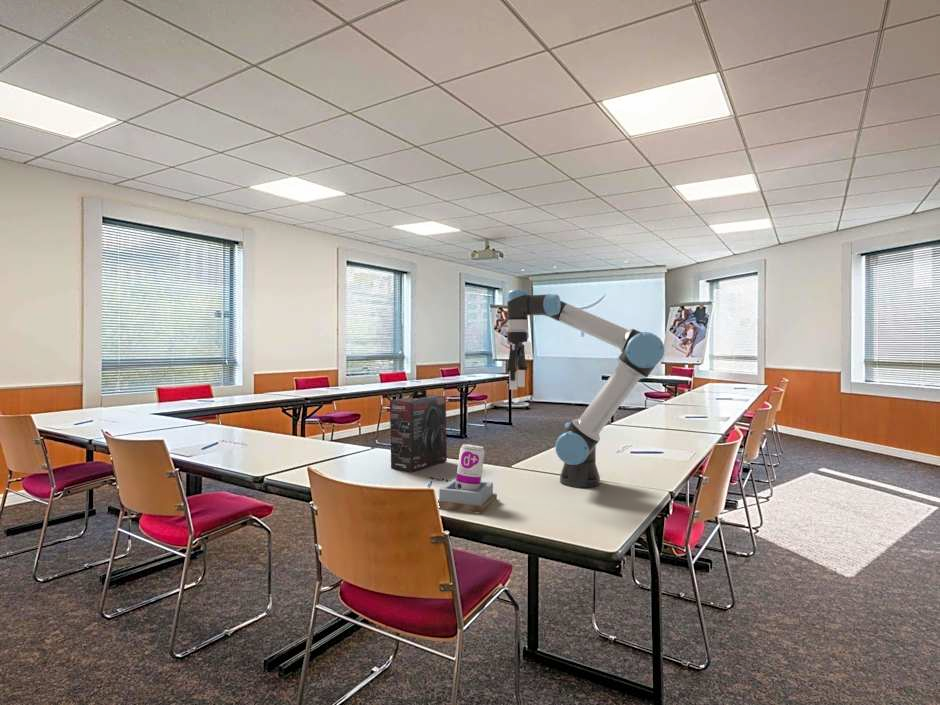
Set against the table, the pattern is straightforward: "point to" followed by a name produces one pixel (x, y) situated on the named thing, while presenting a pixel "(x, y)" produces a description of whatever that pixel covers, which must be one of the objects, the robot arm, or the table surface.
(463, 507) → the walnut slab
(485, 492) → the grey rimmed block
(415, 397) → the headset box
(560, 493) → the table surface
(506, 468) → the table surface
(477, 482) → the supplement can
